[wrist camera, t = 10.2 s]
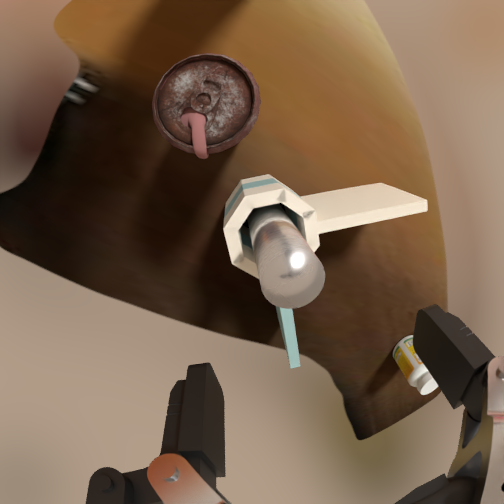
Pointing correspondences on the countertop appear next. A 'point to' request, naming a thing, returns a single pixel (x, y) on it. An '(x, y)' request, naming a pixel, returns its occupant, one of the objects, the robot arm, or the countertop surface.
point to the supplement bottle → (413, 366)
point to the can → (206, 104)
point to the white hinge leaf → (314, 212)
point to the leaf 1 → (283, 314)
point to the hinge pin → (284, 259)
